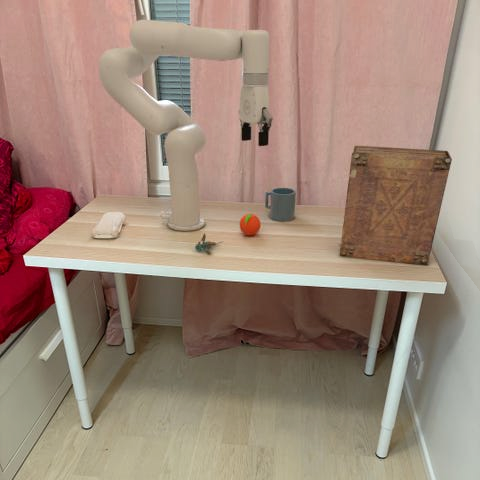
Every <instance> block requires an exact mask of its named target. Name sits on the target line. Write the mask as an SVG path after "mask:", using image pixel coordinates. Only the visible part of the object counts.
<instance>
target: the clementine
mask: <svg viewBox="0 0 480 480" xmlns="http://www.w3.org/2000/svg"><path fill="white" fill-rule="evenodd" d="M260 229H261V220H260V218H259V217H258V216H257V215H256V214H253V213H247V214H245V215H243V216H242V217H241V218H240V220H239V230H240V232H241V233H243V234H244V235H246V236H255V235H256V234H258V233H259V231H260Z"/></svg>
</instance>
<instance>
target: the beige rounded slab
mask: <svg viewBox="0 0 480 480" xmlns="http://www.w3.org/2000/svg"><path fill="white" fill-rule="evenodd" d="M125 225H127V217H126V215H125V214H124V213H123V212H120V211H119V212H118V211H111V212H110V211H109V212H105V213H104V214H103V215H102V216H101V217H100V219H99V220H98V222H97V224H96V226H95V227H92V229H91V230H92V231H91V234H92V238H94V239H116V238H118V237H119V234H120V232H121V229H122V227H123V226H125Z"/></svg>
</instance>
